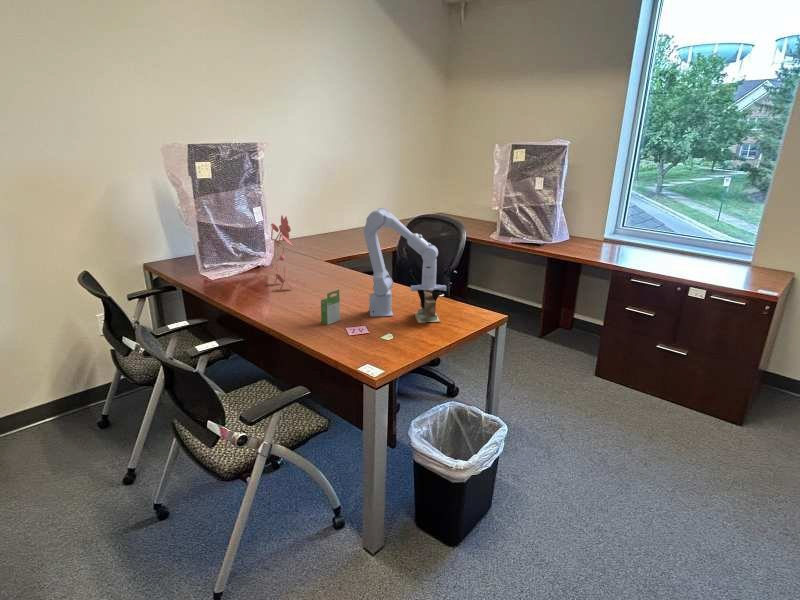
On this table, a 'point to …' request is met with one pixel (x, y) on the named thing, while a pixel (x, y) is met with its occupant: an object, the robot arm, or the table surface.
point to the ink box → (330, 308)
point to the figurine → (285, 237)
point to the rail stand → (423, 319)
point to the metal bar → (429, 305)
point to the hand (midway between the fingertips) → (427, 307)
